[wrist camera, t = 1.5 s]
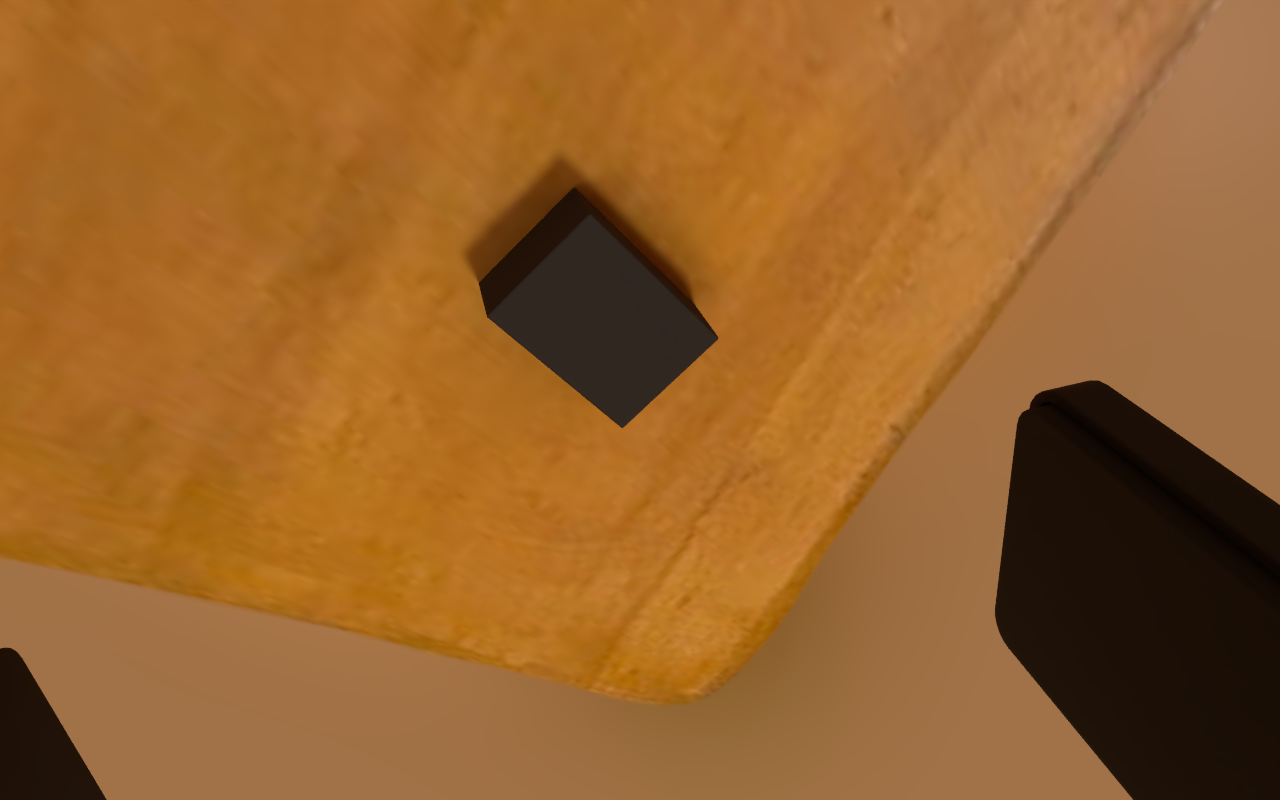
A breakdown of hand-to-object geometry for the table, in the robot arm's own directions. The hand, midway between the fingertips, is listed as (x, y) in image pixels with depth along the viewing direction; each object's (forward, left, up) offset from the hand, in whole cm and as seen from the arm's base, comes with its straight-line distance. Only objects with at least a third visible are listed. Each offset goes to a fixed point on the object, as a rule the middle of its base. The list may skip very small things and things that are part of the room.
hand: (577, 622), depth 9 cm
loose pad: (+2, +9, -26) cm, 28 cm away
